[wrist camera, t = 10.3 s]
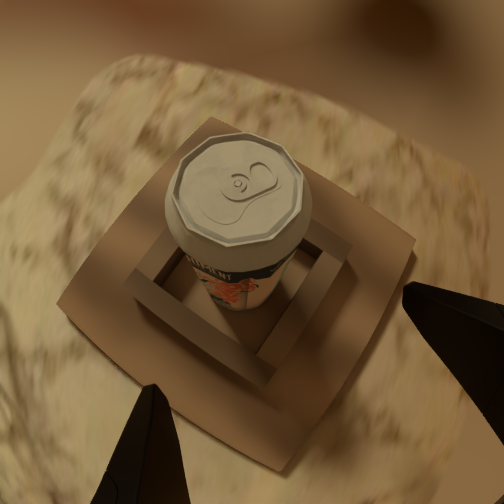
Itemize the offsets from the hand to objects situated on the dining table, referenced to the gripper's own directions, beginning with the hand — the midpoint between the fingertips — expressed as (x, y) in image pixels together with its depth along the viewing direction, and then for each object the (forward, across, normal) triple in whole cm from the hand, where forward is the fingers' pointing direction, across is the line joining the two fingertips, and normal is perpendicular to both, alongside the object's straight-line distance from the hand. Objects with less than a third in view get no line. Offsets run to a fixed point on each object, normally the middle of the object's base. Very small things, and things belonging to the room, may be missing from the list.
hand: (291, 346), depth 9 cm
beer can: (+11, 0, +4) cm, 11 cm away
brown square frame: (+12, 0, +4) cm, 12 cm away
